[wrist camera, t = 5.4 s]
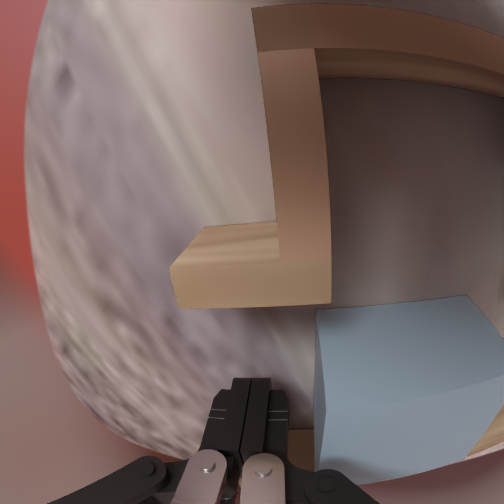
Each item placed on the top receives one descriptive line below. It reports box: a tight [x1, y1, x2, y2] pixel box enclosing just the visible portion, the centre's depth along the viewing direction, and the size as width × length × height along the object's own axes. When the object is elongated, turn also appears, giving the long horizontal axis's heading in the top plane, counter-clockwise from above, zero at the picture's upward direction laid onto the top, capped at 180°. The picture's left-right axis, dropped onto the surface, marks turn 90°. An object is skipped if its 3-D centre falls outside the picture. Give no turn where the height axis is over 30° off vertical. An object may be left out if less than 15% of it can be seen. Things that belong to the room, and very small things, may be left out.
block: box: [313, 295, 504, 485], centre depth 10 cm, size 6×7×5 cm
